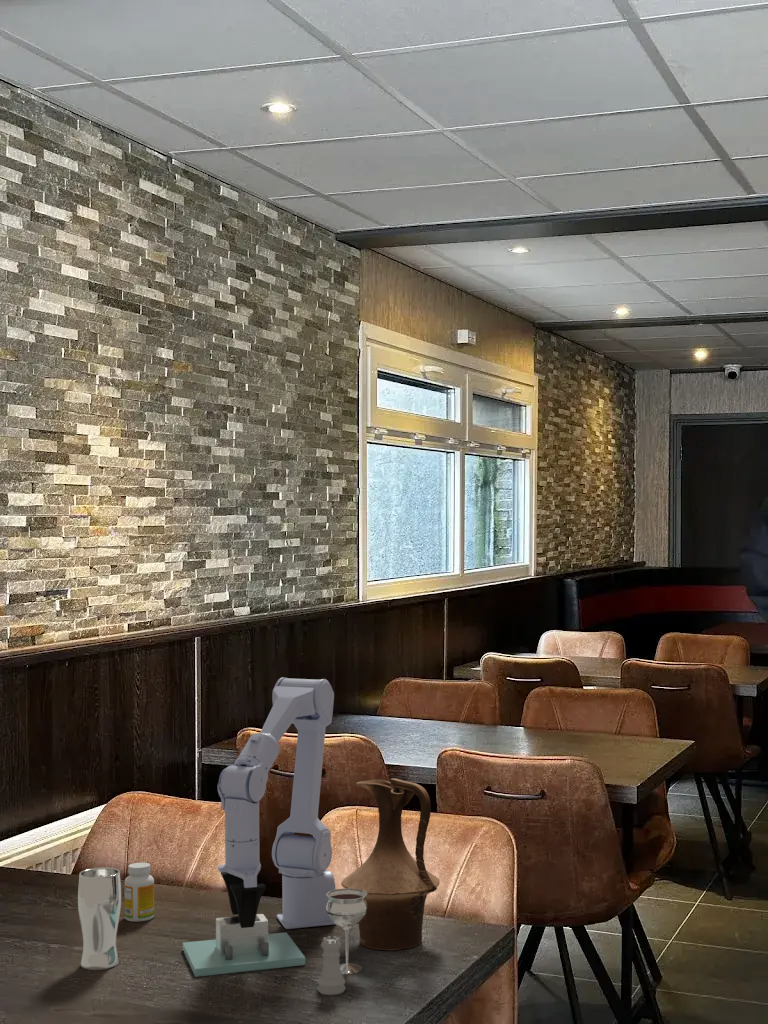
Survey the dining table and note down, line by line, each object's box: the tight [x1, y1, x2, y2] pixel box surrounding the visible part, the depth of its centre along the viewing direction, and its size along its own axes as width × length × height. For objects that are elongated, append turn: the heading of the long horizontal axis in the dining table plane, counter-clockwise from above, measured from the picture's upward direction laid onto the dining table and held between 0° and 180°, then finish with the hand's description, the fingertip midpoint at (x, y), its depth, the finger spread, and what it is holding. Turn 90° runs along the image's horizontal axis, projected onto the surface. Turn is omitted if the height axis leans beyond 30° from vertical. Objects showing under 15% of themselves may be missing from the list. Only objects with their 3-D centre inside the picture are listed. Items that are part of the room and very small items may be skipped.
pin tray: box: [182, 932, 306, 978], centre depth 209 cm, size 18×14×3 cm
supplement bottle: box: [124, 862, 155, 923], centre depth 232 cm, size 5×5×10 cm
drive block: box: [215, 913, 269, 957], centre depth 209 cm, size 8×4×5 cm, turn 107°
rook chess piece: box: [316, 935, 346, 996], centre depth 193 cm, size 4×4×8 cm
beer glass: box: [77, 866, 122, 971], centre depth 206 cm, size 7×7×15 cm
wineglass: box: [326, 888, 368, 975], centre depth 203 cm, size 7×7×12 cm
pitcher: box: [340, 777, 441, 951], centre depth 217 cm, size 18×17×28 cm
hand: (242, 920), depth 209 cm, fingers open, 7 cm apart
